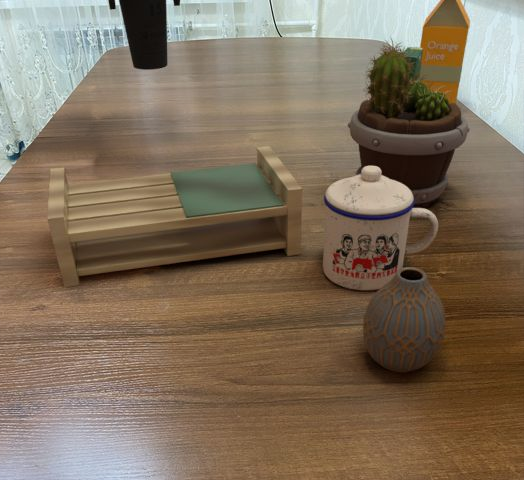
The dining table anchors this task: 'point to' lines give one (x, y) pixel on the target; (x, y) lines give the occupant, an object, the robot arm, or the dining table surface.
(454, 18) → the orange juice
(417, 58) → the coffee box
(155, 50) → the drinking cup
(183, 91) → the dining table surface
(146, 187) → the rack
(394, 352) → the vase
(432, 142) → the flowerpot
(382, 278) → the teacup with lid
